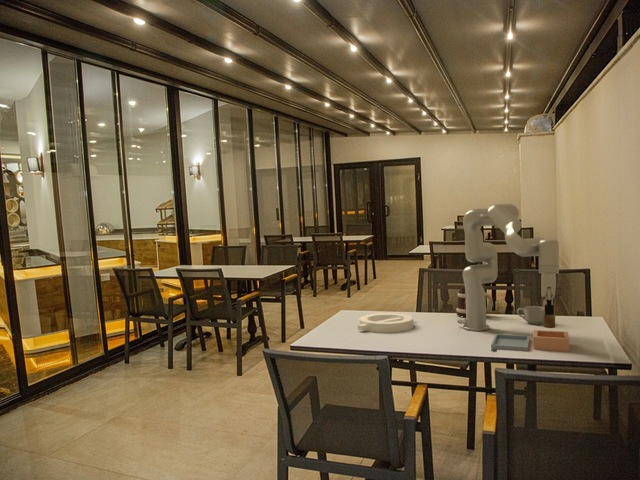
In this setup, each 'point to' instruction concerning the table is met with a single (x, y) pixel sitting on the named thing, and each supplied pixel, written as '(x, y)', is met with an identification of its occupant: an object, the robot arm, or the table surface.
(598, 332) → the table surface
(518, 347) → the tray
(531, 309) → the teacup
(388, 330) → the ring with crossbar
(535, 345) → the open box
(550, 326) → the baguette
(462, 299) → the mug
